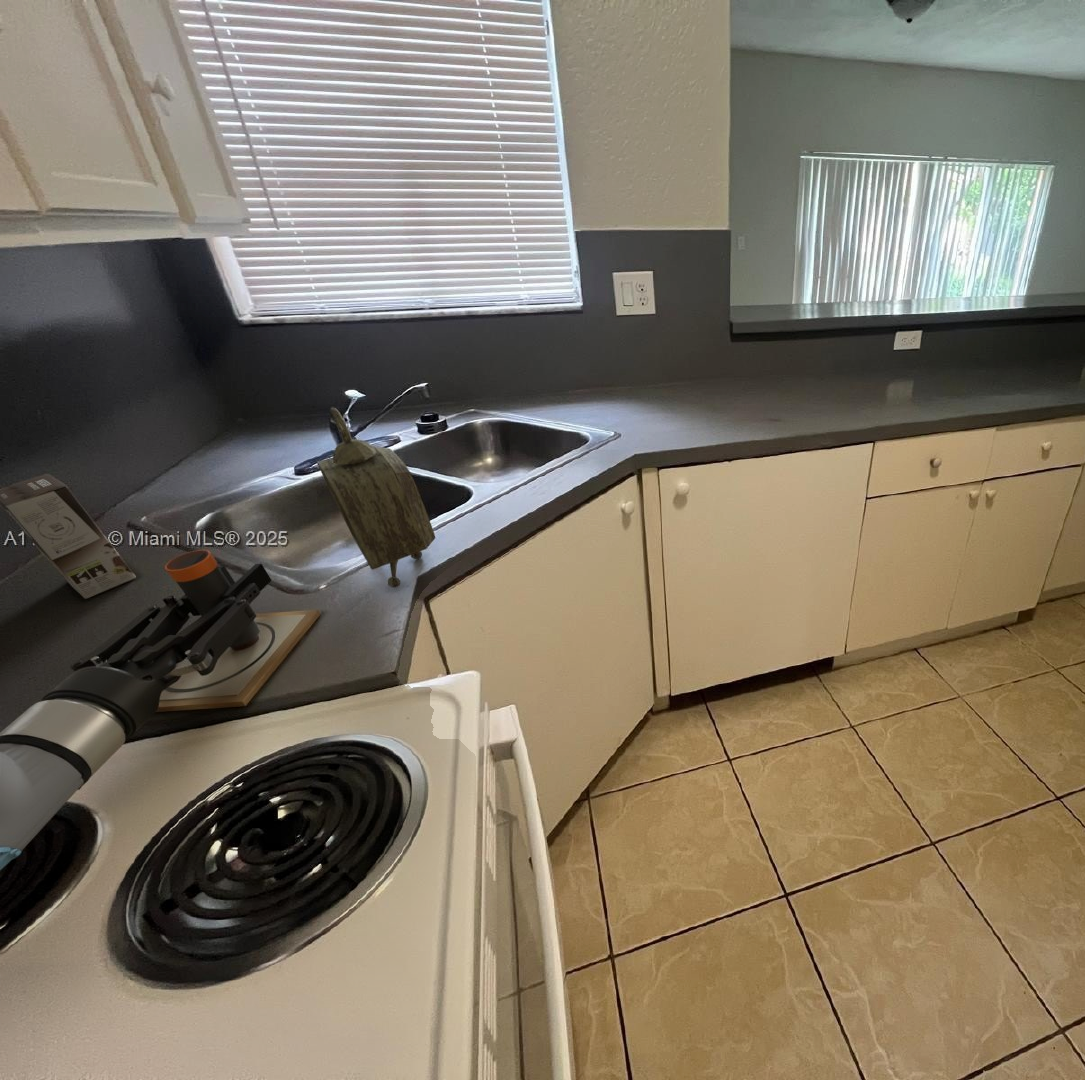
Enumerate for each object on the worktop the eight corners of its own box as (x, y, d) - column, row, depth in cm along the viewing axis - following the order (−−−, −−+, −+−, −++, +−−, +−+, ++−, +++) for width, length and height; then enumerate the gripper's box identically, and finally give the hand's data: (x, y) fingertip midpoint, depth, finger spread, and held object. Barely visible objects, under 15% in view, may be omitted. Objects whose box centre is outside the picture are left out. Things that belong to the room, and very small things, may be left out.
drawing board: (104, 715, 64) (98, 710, 64) (204, 621, 78) (200, 616, 77) (245, 706, 65) (241, 700, 64) (321, 613, 78) (318, 608, 77)
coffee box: (139, 577, 87) (67, 485, 78) (84, 600, 83) (2, 506, 74) (119, 560, 92) (49, 471, 83) (66, 582, 87) (-14, 490, 78)
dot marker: (217, 655, 70) (155, 572, 63) (239, 632, 74) (183, 550, 67) (251, 652, 70) (193, 569, 63) (272, 629, 74) (218, 548, 67)
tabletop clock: (361, 556, 89) (288, 404, 76) (420, 534, 94) (361, 387, 80) (386, 598, 80) (307, 434, 66) (450, 571, 85) (389, 413, 71)
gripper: (21, 752, 55) (194, 600, 75) (197, 740, 56) (324, 591, 75) (-39, 701, 51) (161, 553, 71) (151, 688, 51) (298, 545, 71)
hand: (245, 573), depth 73 cm, fingers closed on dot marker, 4 cm apart
